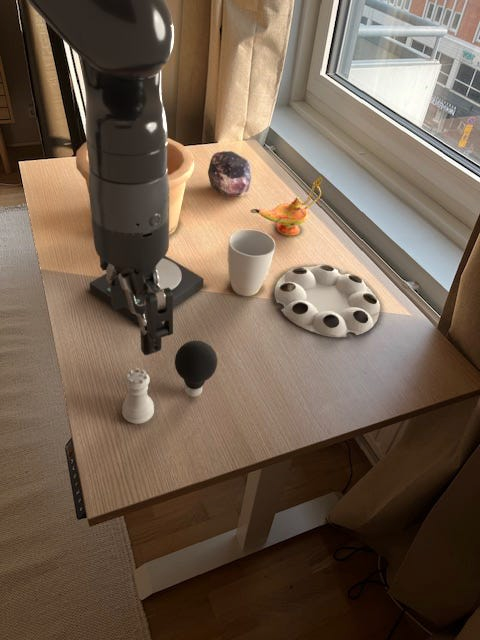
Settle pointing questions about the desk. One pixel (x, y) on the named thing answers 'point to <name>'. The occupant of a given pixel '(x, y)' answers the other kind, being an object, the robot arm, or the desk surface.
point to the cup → (249, 260)
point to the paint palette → (327, 300)
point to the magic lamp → (289, 213)
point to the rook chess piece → (137, 397)
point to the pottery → (177, 169)
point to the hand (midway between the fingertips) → (135, 327)
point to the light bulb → (195, 365)
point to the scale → (169, 276)
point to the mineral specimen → (229, 173)
